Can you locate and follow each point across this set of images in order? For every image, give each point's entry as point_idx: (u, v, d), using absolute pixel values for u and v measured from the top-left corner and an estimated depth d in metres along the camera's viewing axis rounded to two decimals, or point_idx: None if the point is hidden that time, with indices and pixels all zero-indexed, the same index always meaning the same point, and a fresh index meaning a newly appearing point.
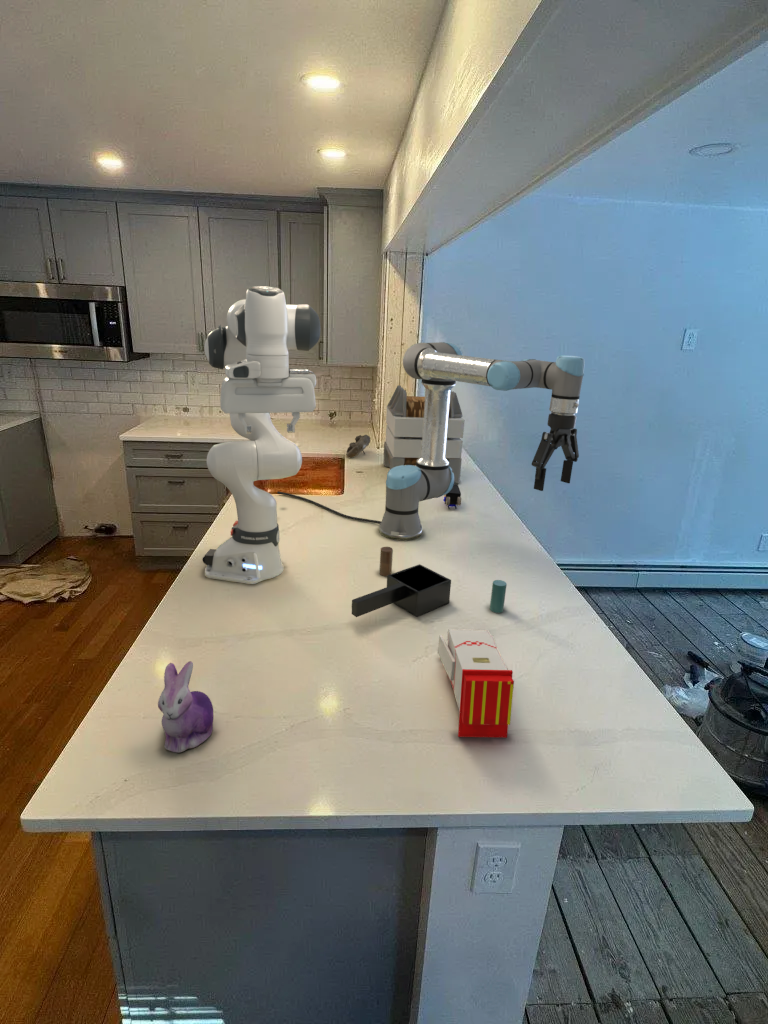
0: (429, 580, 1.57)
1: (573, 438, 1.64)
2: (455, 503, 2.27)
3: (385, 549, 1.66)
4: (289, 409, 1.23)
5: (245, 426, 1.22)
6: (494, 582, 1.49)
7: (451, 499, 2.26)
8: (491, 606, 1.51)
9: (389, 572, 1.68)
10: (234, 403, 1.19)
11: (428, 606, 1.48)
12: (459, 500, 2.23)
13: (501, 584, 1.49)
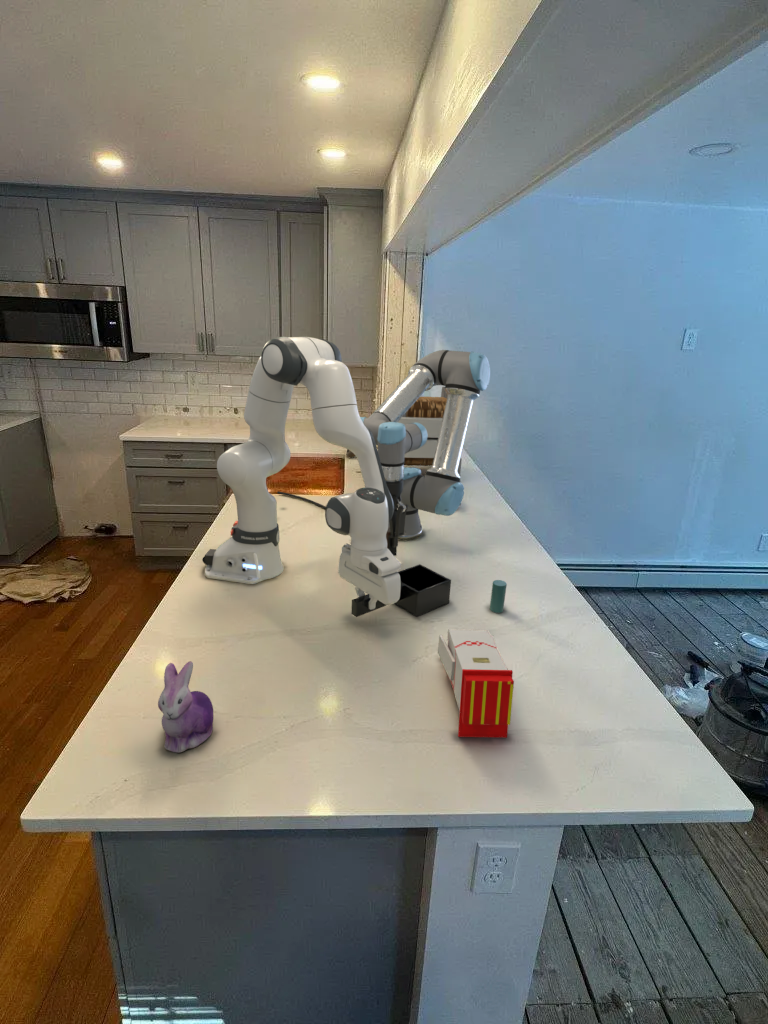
0: (429, 580, 1.57)
1: None
2: None
3: None
4: None
5: None
6: (494, 582, 1.49)
7: None
8: (491, 606, 1.51)
9: None
10: None
11: (428, 606, 1.48)
12: None
13: (501, 584, 1.49)
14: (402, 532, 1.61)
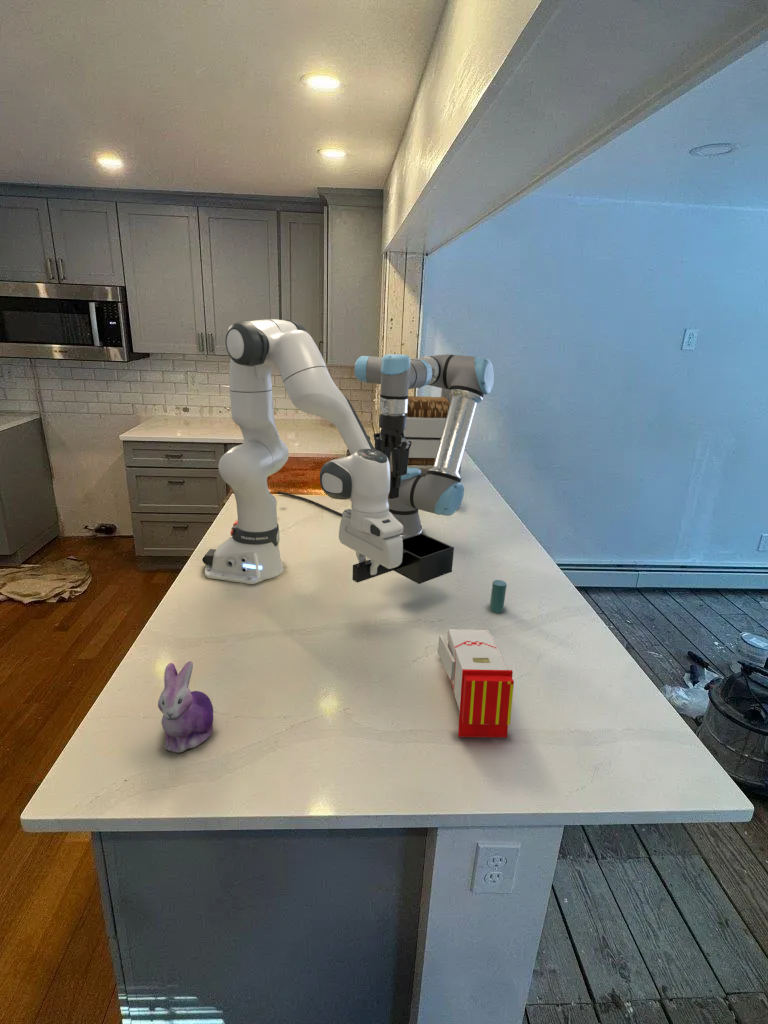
0: (432, 548, 1.54)
1: None
2: None
3: None
4: None
5: None
6: (494, 582, 1.49)
7: None
8: (491, 606, 1.51)
9: None
10: None
11: (430, 573, 1.45)
12: None
13: (501, 584, 1.49)
14: (405, 471, 1.55)
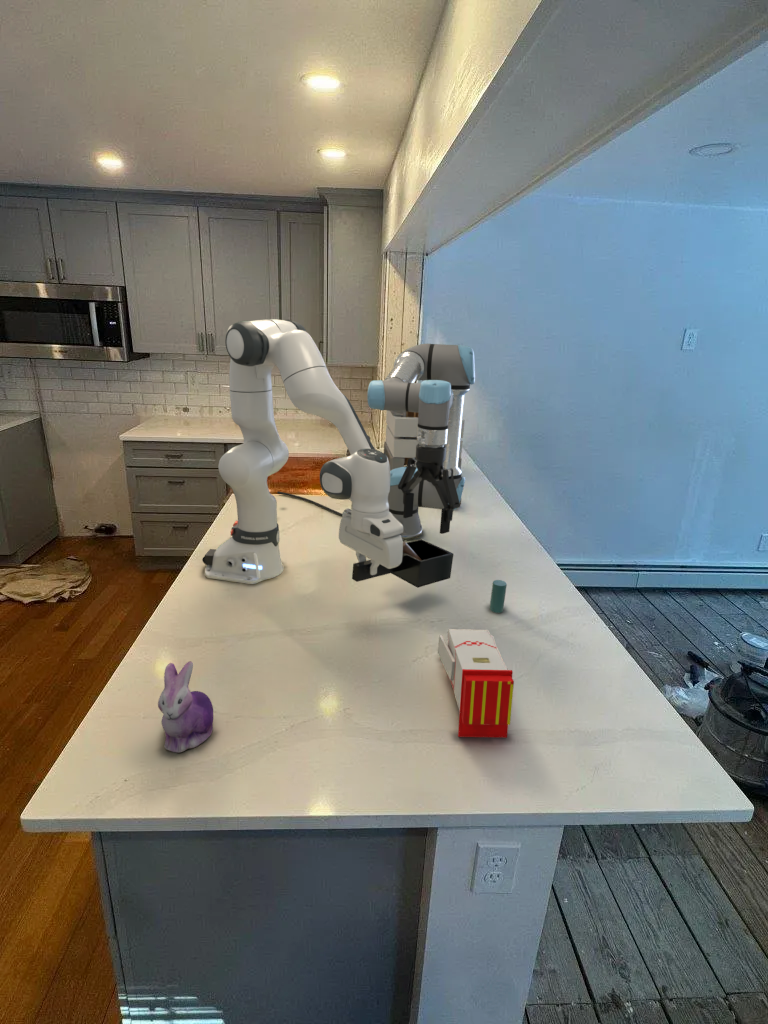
0: (431, 554, 1.55)
1: None
2: None
3: None
4: None
5: None
6: (494, 582, 1.49)
7: None
8: (491, 606, 1.51)
9: None
10: None
11: (429, 578, 1.45)
12: None
13: (501, 584, 1.49)
14: (457, 502, 1.38)
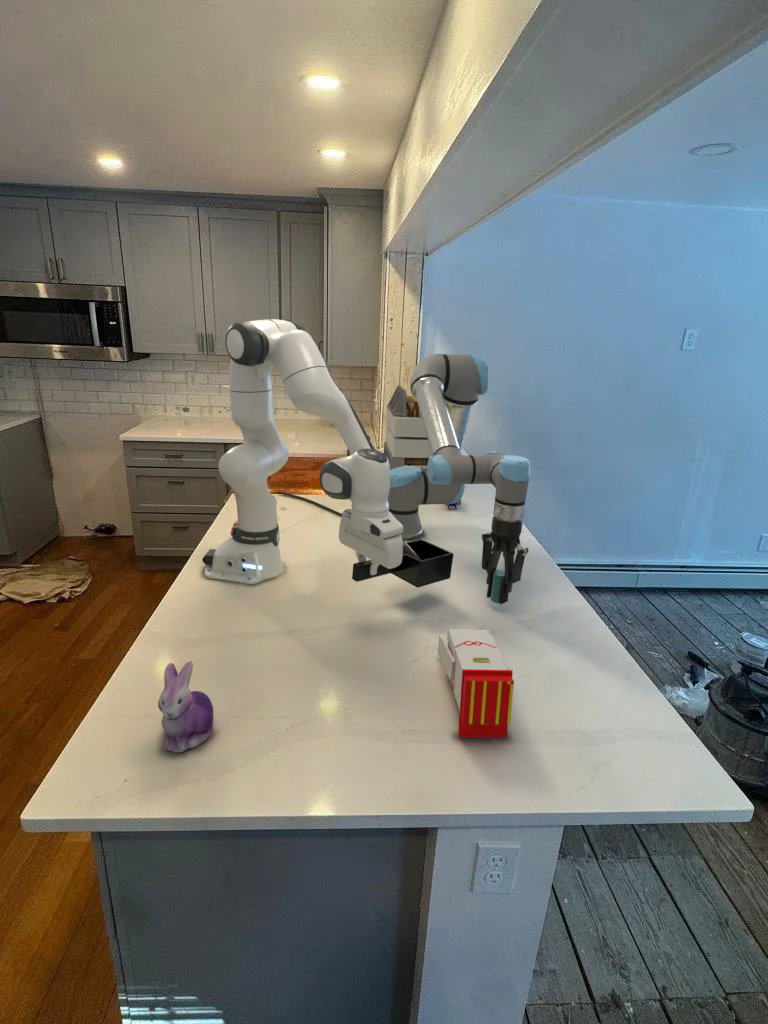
0: (431, 554, 1.55)
1: None
2: (455, 503, 2.27)
3: None
4: None
5: None
6: (495, 572, 1.49)
7: None
8: (492, 596, 1.50)
9: None
10: None
11: (429, 578, 1.45)
12: None
13: (502, 574, 1.48)
14: (519, 577, 1.45)
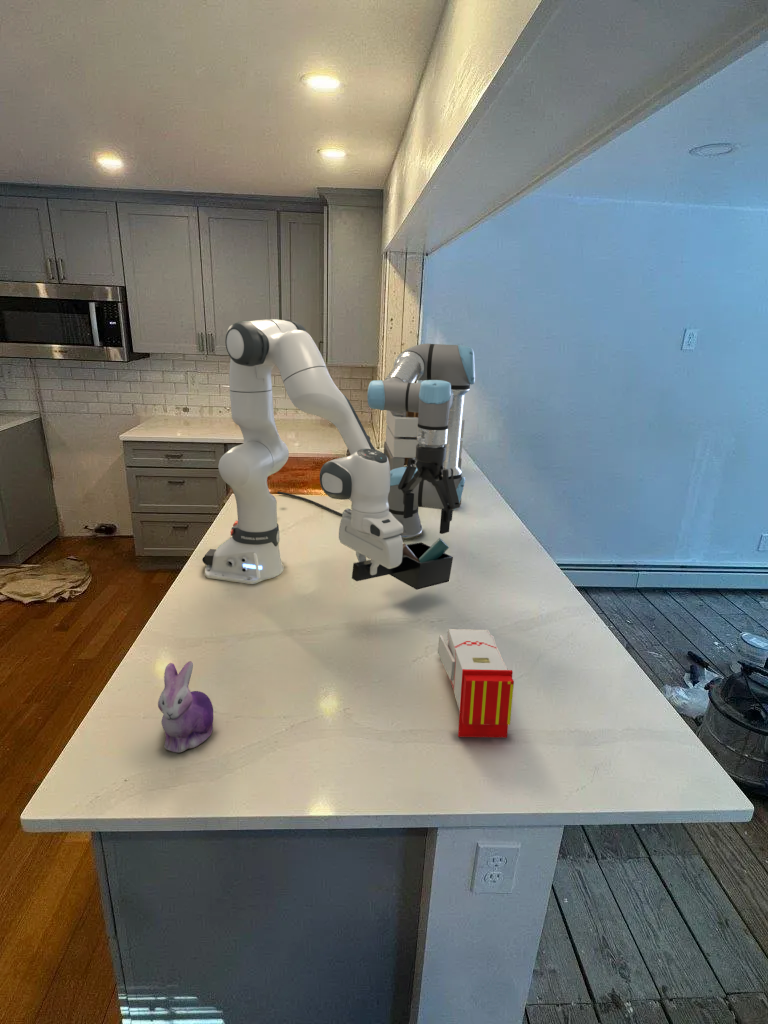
0: None
1: None
2: None
3: None
4: None
5: None
6: (440, 539, 1.50)
7: None
8: (422, 556, 1.50)
9: None
10: None
11: (428, 580, 1.45)
12: None
13: (445, 543, 1.50)
14: (457, 502, 1.38)
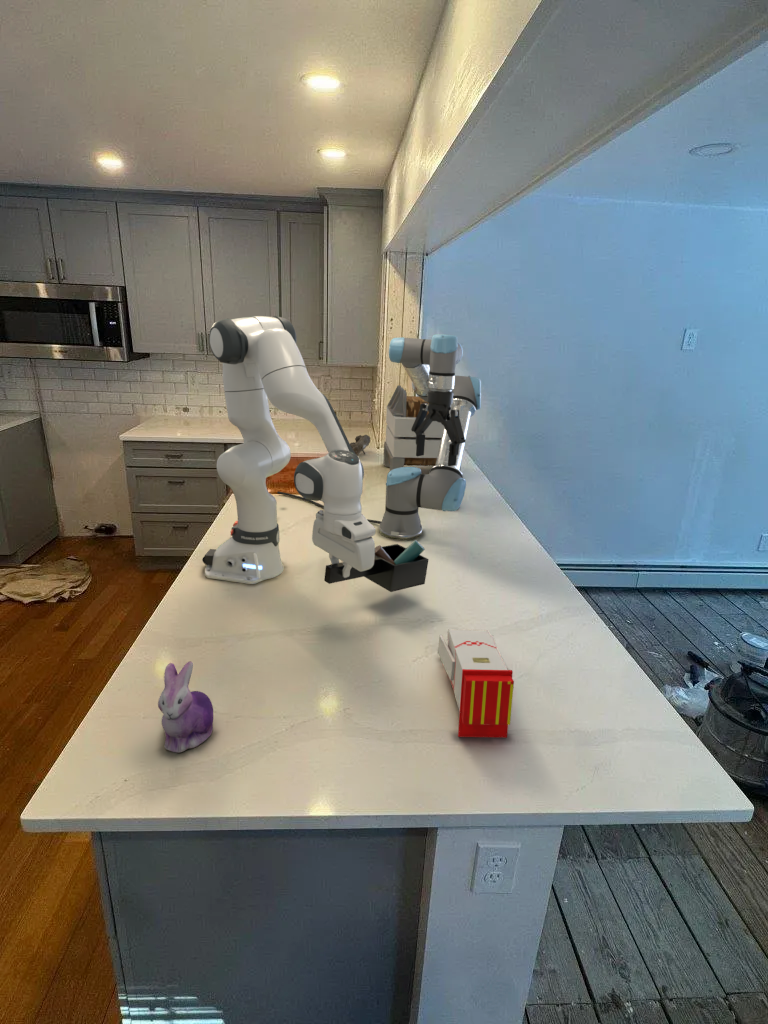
0: None
1: None
2: None
3: None
4: None
5: None
6: (416, 541, 1.49)
7: None
8: (397, 559, 1.49)
9: None
10: None
11: (403, 583, 1.44)
12: None
13: (420, 546, 1.48)
14: (463, 438, 1.63)
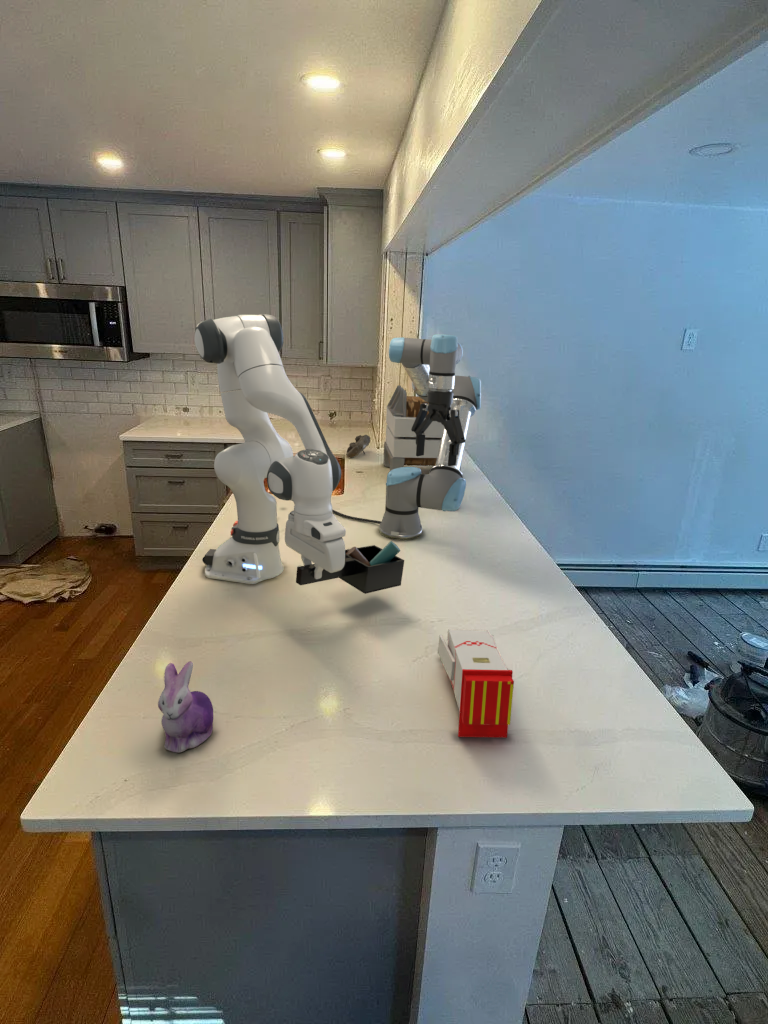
0: None
1: None
2: None
3: (348, 553, 1.46)
4: None
5: None
6: (391, 542, 1.47)
7: None
8: (373, 560, 1.47)
9: None
10: None
11: (378, 584, 1.42)
12: None
13: (396, 546, 1.46)
14: (463, 438, 1.63)
